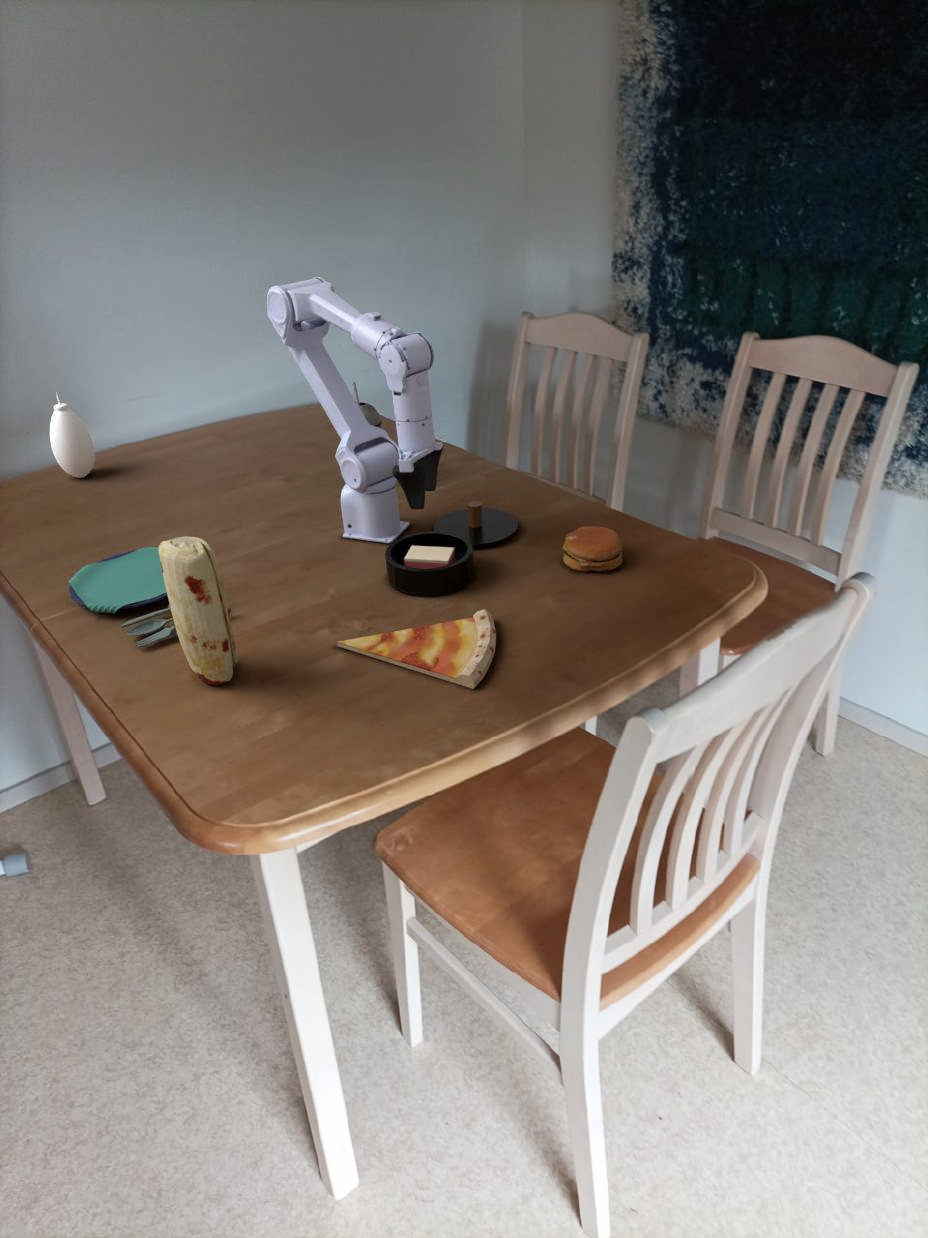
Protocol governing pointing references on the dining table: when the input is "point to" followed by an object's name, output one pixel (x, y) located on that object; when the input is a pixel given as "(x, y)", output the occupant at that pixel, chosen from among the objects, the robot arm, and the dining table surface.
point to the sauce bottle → (71, 441)
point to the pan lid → (479, 524)
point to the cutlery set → (126, 590)
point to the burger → (592, 549)
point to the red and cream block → (429, 557)
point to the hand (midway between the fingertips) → (423, 499)
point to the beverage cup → (368, 411)
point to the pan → (434, 578)
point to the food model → (199, 607)
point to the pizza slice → (437, 648)
